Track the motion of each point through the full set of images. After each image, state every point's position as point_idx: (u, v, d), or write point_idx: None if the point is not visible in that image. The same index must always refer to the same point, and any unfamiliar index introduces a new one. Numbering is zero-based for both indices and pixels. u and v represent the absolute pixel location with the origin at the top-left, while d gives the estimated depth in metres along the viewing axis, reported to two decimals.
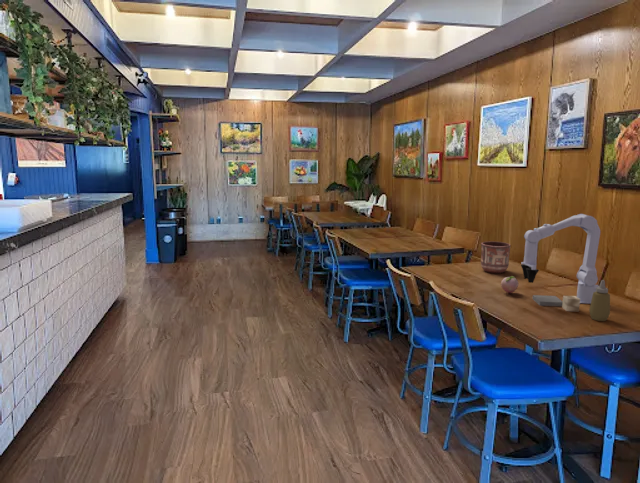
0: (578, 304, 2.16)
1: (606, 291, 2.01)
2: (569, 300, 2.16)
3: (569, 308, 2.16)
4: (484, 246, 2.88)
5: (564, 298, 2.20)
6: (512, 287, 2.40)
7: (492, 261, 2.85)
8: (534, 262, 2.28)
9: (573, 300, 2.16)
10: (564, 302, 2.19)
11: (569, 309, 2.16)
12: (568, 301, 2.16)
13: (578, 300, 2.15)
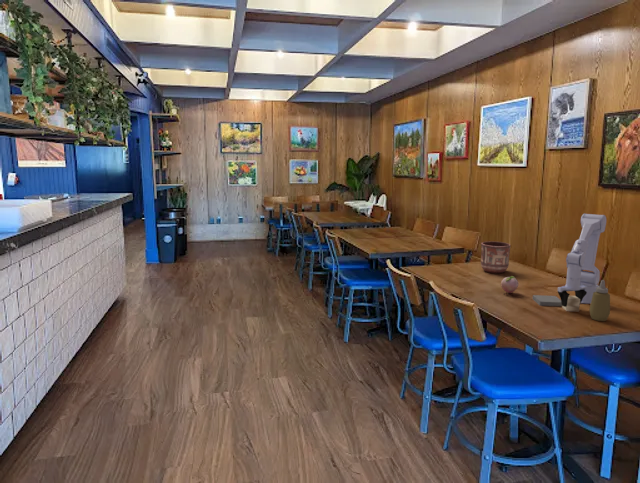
0: (578, 304, 2.16)
1: (606, 291, 2.01)
2: (569, 300, 2.16)
3: (569, 308, 2.16)
4: (484, 246, 2.88)
5: None
6: (512, 287, 2.40)
7: (492, 261, 2.85)
8: (570, 286, 2.15)
9: (573, 300, 2.15)
10: None
11: (569, 309, 2.16)
12: (568, 301, 2.16)
13: (578, 300, 2.15)
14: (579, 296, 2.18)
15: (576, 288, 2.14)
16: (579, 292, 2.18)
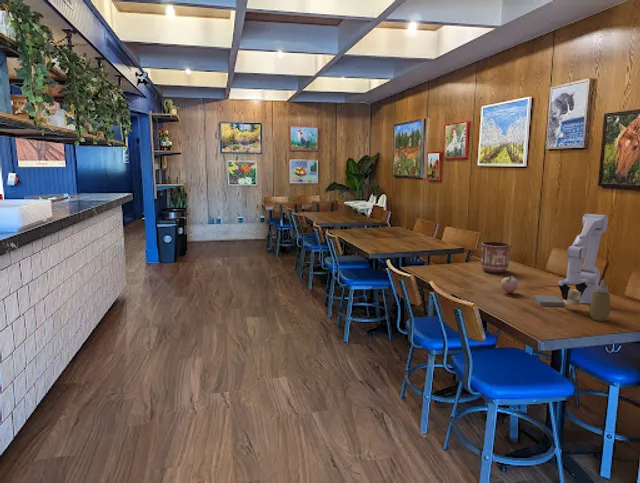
0: (579, 297, 2.15)
1: (606, 291, 2.01)
2: (570, 293, 2.15)
3: (570, 301, 2.16)
4: (484, 246, 2.88)
5: None
6: (512, 287, 2.40)
7: (492, 261, 2.85)
8: (571, 279, 2.15)
9: (574, 293, 2.15)
10: None
11: (570, 302, 2.16)
12: (569, 294, 2.15)
13: (579, 293, 2.15)
14: (580, 289, 2.17)
15: (577, 281, 2.14)
16: (580, 285, 2.17)
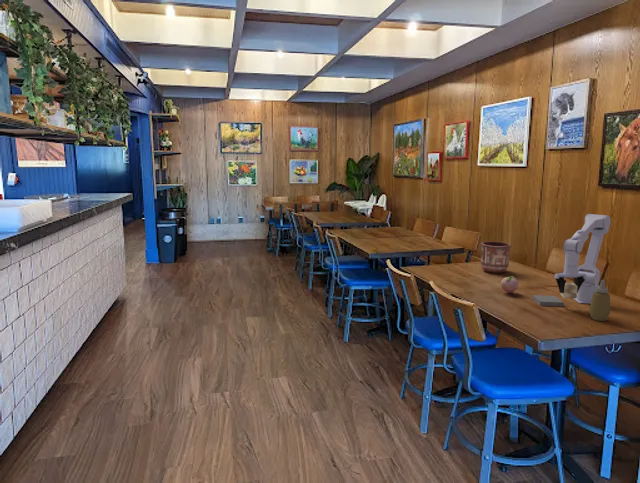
0: (575, 291, 2.16)
1: (606, 291, 2.01)
2: (566, 287, 2.16)
3: (567, 295, 2.17)
4: (484, 246, 2.88)
5: None
6: (512, 287, 2.40)
7: (492, 261, 2.85)
8: (567, 273, 2.16)
9: (570, 287, 2.16)
10: None
11: (566, 296, 2.17)
12: (565, 287, 2.17)
13: (575, 287, 2.16)
14: (577, 283, 2.18)
15: (573, 275, 2.15)
16: (577, 279, 2.18)
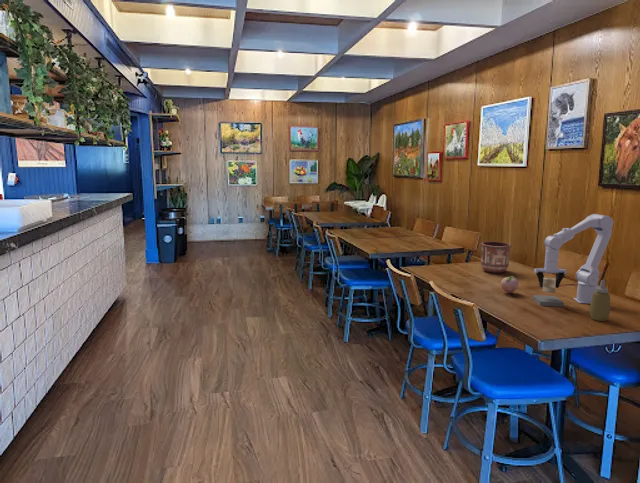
0: (554, 286, 2.25)
1: (606, 291, 2.01)
2: (545, 281, 2.26)
3: (545, 289, 2.27)
4: (484, 246, 2.88)
5: (543, 279, 2.30)
6: (512, 287, 2.40)
7: (492, 261, 2.85)
8: (546, 268, 2.26)
9: (549, 281, 2.25)
10: None
11: (545, 290, 2.27)
12: (544, 282, 2.26)
13: (554, 282, 2.24)
14: (558, 279, 2.26)
15: (551, 270, 2.24)
16: (558, 275, 2.26)
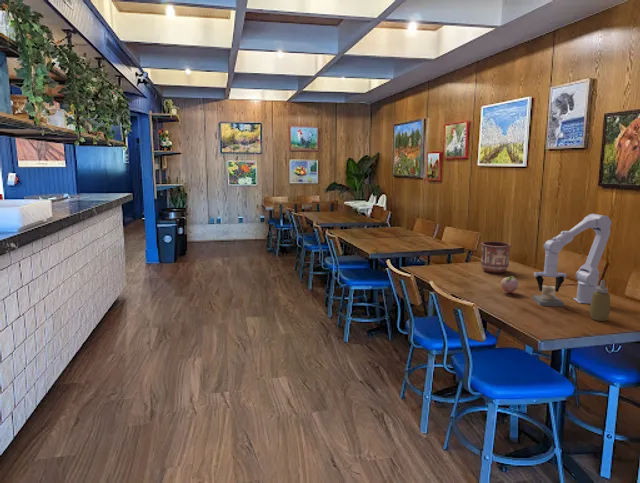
0: (553, 293, 2.25)
1: (606, 291, 2.01)
2: (544, 289, 2.27)
3: (545, 297, 2.27)
4: (484, 246, 2.88)
5: None
6: (512, 287, 2.40)
7: (492, 261, 2.85)
8: (546, 272, 2.26)
9: (548, 289, 2.26)
10: (542, 291, 2.30)
11: (544, 297, 2.27)
12: (543, 290, 2.27)
13: (553, 289, 2.25)
14: (557, 283, 2.27)
15: (551, 274, 2.24)
16: (557, 279, 2.27)
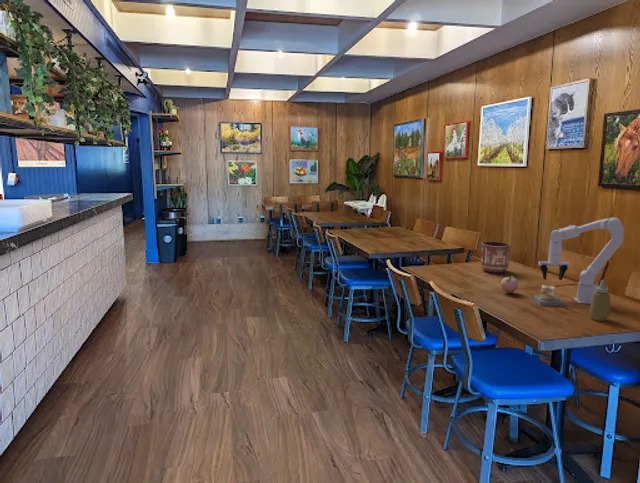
0: (552, 293, 2.26)
1: (606, 291, 2.01)
2: (543, 289, 2.27)
3: (544, 296, 2.28)
4: (484, 246, 2.88)
5: None
6: (512, 287, 2.40)
7: (492, 261, 2.85)
8: (550, 261, 2.34)
9: (547, 289, 2.26)
10: (541, 291, 2.31)
11: (543, 297, 2.28)
12: (542, 289, 2.27)
13: (552, 289, 2.25)
14: (561, 271, 2.35)
15: (555, 263, 2.33)
16: (561, 267, 2.35)
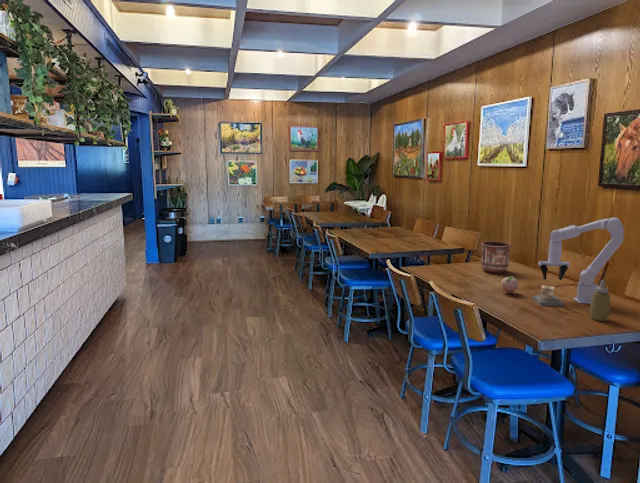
0: (552, 293, 2.25)
1: (606, 291, 2.01)
2: (543, 289, 2.27)
3: (543, 296, 2.28)
4: (484, 246, 2.88)
5: None
6: (512, 287, 2.40)
7: (492, 261, 2.85)
8: (550, 261, 2.34)
9: (547, 289, 2.26)
10: None
11: (543, 297, 2.28)
12: (542, 290, 2.27)
13: (552, 290, 2.25)
14: (561, 271, 2.35)
15: (555, 263, 2.33)
16: (561, 267, 2.35)
